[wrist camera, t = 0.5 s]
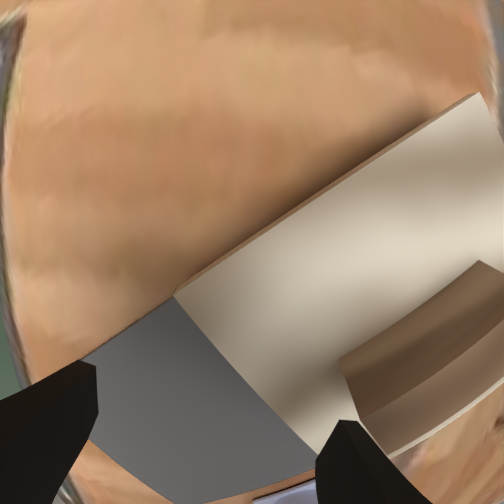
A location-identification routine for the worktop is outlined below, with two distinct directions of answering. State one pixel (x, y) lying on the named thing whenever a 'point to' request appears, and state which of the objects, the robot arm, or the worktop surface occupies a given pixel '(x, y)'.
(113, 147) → the worktop surface
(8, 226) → the worktop surface
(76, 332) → the worktop surface
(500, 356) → the lid
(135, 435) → the mat
